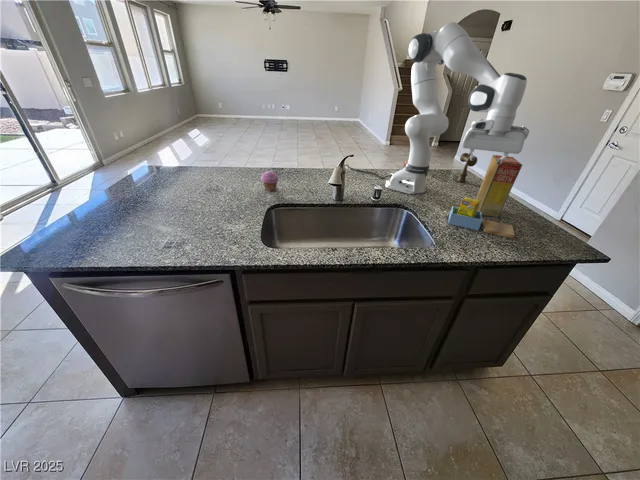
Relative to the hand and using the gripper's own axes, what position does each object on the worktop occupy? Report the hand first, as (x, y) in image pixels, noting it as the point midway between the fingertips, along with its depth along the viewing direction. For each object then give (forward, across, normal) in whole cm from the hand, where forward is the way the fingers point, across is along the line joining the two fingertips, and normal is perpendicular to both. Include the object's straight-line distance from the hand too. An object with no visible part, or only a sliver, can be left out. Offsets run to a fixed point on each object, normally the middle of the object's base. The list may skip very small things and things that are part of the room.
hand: (485, 162), depth 106 cm
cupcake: (+26, +96, +12) cm, 100 cm away
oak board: (+27, -13, +2) cm, 30 cm away
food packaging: (+27, -10, -18) cm, 34 cm away
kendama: (+26, +2, -58) cm, 64 cm away
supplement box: (+27, 0, +2) cm, 27 cm away
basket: (+27, 0, +2) cm, 27 cm away
